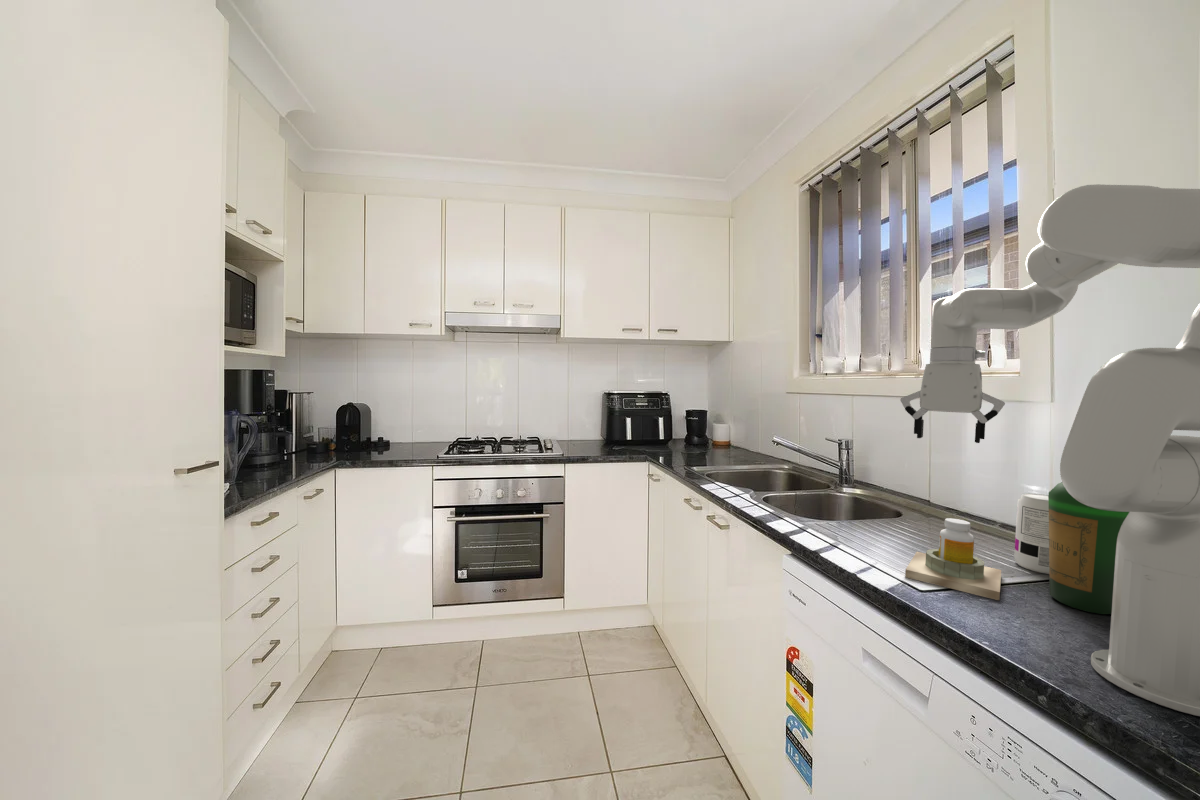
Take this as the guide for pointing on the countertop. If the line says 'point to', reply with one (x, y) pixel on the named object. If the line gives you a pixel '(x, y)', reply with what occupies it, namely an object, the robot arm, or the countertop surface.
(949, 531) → the supplement bottle
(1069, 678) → the countertop surface
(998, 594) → the collar holder
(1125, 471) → the robot arm
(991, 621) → the countertop surface
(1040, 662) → the countertop surface
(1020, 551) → the supplement can
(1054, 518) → the bottle
